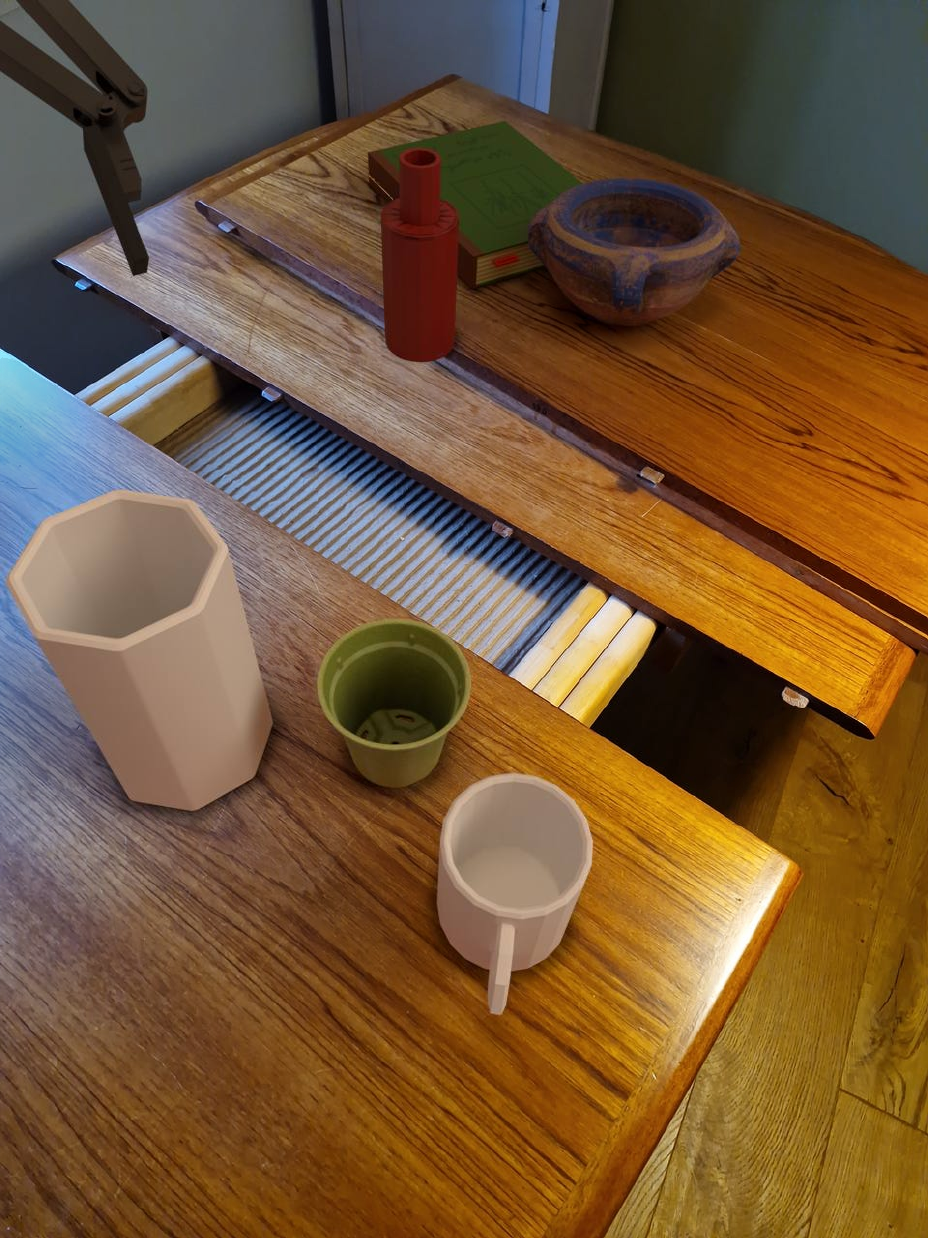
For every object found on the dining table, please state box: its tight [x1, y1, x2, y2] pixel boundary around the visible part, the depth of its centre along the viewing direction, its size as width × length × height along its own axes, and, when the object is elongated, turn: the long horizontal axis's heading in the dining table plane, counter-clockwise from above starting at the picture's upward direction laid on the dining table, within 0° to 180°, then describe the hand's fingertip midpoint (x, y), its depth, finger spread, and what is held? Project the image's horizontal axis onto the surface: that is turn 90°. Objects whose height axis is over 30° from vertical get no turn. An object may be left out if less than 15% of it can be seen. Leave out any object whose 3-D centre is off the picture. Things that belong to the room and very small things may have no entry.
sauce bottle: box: [380, 148, 459, 363], centre depth 82 cm, size 7×7×18 cm
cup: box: [5, 488, 274, 812], centre depth 54 cm, size 11×11×18 cm
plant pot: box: [316, 618, 472, 789], centre depth 58 cm, size 9×9×9 cm
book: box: [367, 120, 584, 290], centre depth 102 cm, size 25×19×4 cm
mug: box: [436, 772, 594, 1016], centre depth 50 cm, size 8×12×10 cm
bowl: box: [527, 177, 742, 327], centre depth 90 cm, size 18×18×10 cm
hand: (5, 301), depth 44 cm, fingers open, 13 cm apart
